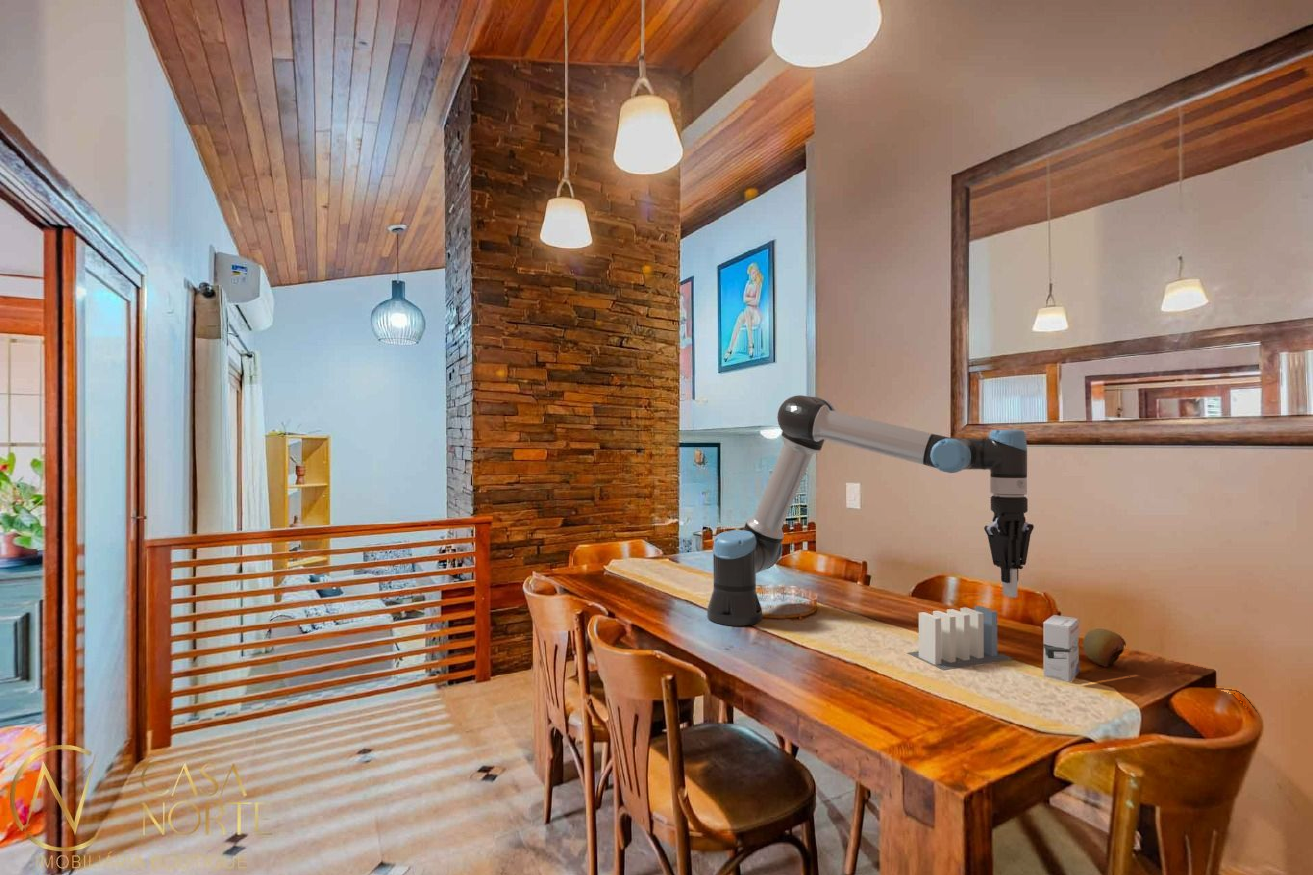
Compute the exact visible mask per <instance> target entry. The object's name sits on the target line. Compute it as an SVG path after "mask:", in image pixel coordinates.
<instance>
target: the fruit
mask: <svg viewBox="0 0 1313 875" xmlns="http://www.w3.org/2000/svg"><path fill="white" fill-rule="evenodd" d="M1126 645H1127V644H1126V641H1125V639H1124V638H1123V637H1122V636H1121V635H1120V634H1118V633H1116V632H1115V631H1112V630H1110V629H1109V630H1108V629H1106V628H1094V629H1091V630H1089V631H1088V632H1087V633H1086V634H1085V635H1084V637H1083V640H1082V647H1083V650H1084V653H1085V654H1086V656H1087V657H1088V659H1089V660H1091V662H1093V663H1094V664H1097V665H1099V666H1101V667H1103V668H1106V667H1108V666H1109V664H1110V665H1111V666H1114V665H1115V662H1116V661H1117V660H1118V659H1119V657H1120V656H1121V655H1122V654H1123V652H1124V648H1125V647H1126Z"/></svg>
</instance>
